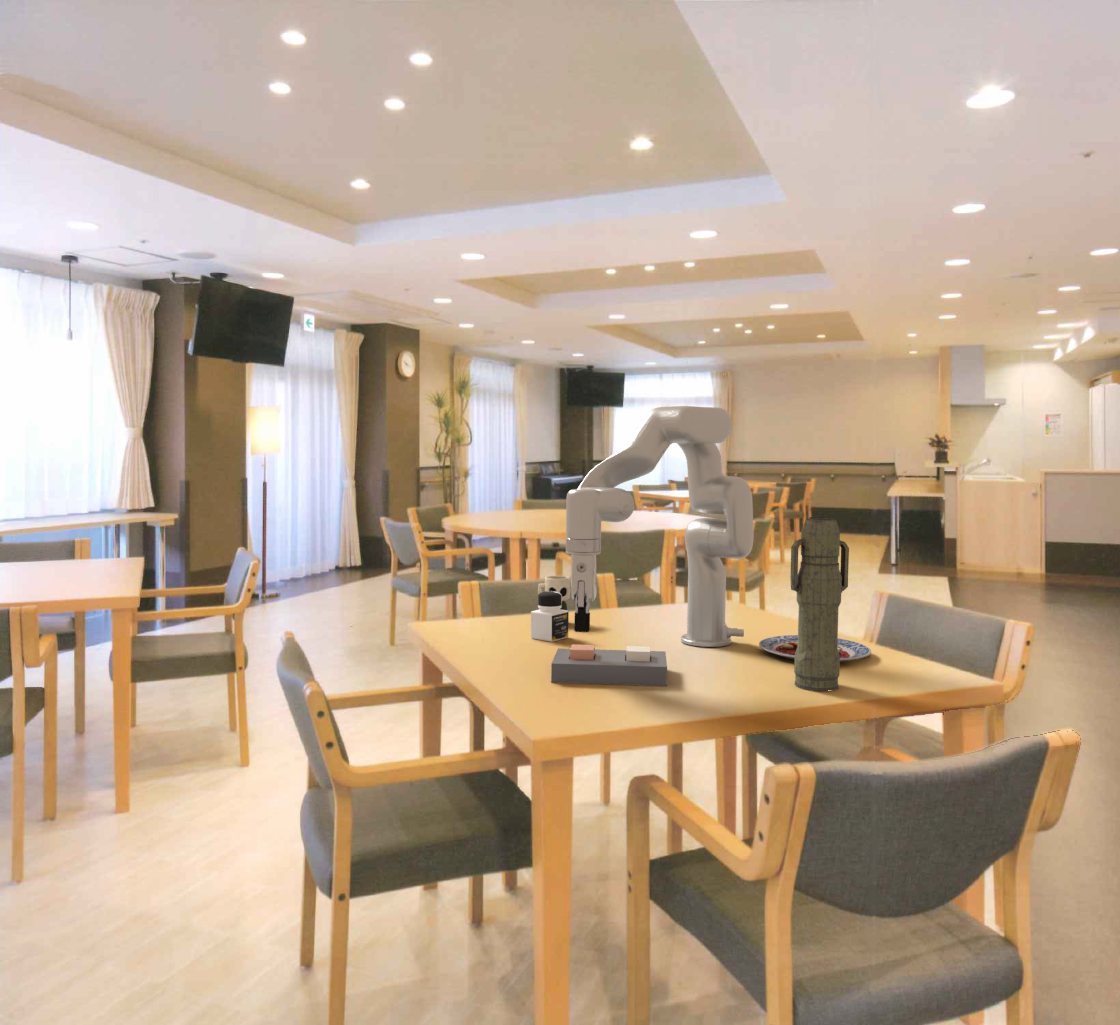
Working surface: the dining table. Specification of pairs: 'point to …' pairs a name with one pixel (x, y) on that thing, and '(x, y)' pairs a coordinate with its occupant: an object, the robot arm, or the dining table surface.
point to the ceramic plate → (789, 644)
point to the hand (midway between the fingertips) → (582, 631)
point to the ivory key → (638, 653)
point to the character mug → (557, 587)
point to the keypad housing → (609, 669)
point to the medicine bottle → (549, 618)
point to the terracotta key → (582, 652)
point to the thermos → (818, 602)
